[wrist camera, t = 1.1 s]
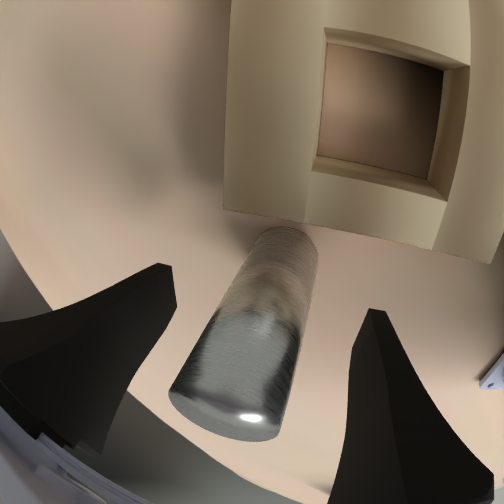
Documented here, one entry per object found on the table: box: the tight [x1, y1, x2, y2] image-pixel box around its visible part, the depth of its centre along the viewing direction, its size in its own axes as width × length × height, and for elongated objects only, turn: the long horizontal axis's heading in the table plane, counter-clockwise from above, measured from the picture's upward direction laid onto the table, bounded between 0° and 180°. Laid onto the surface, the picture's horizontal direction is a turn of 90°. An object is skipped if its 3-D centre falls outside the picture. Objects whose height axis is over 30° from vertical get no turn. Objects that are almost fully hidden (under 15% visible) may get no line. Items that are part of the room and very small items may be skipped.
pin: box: [169, 227, 318, 442], centre depth 10 cm, size 3×3×8 cm
